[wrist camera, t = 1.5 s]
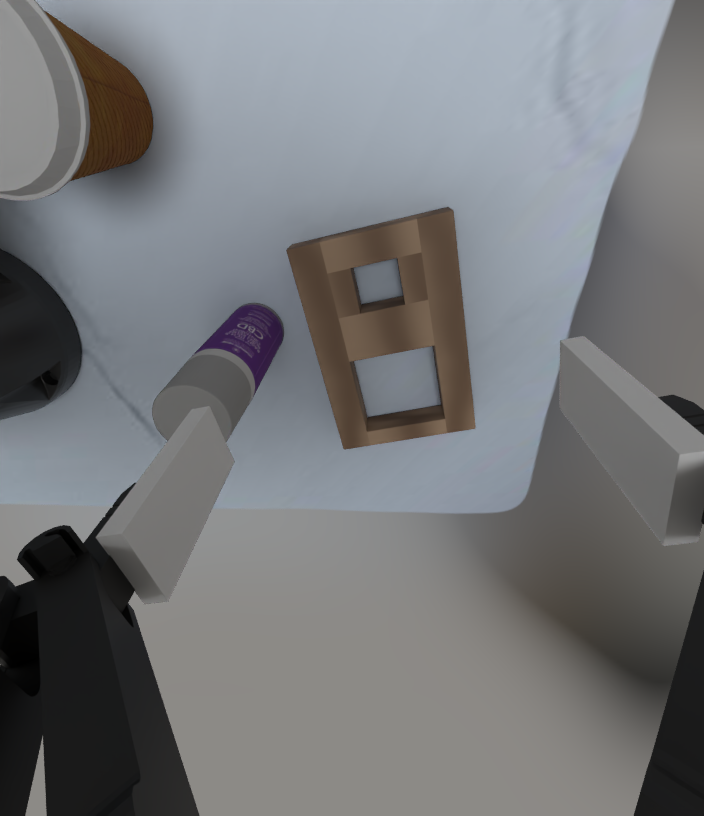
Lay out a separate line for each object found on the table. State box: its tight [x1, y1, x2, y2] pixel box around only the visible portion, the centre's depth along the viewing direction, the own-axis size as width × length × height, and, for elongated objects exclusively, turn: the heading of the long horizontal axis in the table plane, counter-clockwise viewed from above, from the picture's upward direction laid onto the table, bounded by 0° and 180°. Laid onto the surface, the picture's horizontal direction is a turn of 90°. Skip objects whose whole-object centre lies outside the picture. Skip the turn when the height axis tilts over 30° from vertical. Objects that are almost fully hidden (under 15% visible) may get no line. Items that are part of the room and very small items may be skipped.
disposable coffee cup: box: [0, 0, 153, 201], centre depth 24 cm, size 10×10×12 cm
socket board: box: [286, 207, 475, 449], centre depth 35 cm, size 12×18×2 cm, turn 13°
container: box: [152, 303, 284, 442], centre depth 30 cm, size 5×5×15 cm
